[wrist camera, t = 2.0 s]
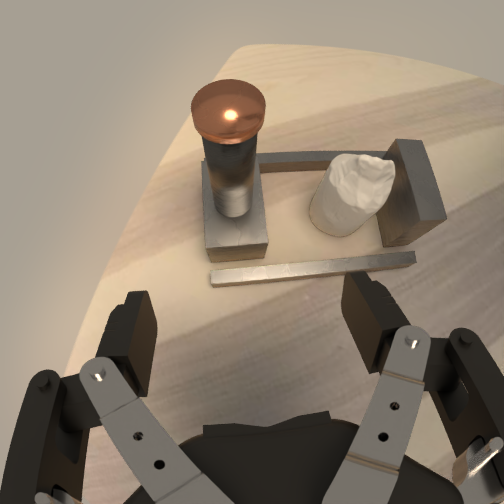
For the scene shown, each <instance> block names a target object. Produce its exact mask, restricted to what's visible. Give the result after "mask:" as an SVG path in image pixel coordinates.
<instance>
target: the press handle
mask: <svg viewBox="0 0 504 504" xmlns="http://www.w3.org/2000/svg"><path fill="white" fill-rule="evenodd" d="M265 106H266V104H265V99H264V96H263V95H262V93H261V92H260V91H259V90H258V89H257V88H256V87H255V86H253V85H251V84H249V83H247V82H244V81H241V80H234V79H226V80H219V81H215V82H212V83H210V84H208V85H206V86H204V87H203V88H202V89H200V90H199V91H198V92H197V93H196V95H195V96H194V98H193V100H192V104H191V112H192V117H193V122H194V126H195V128H196V130H197V131H198V133H199V134H200V135H201V136H202V140H203V146H204V152H205V157H206V161H201V163H202V189H203V211H204V229H205V246H206V250H207V253H208V256H209V258H210V261H211V263H212V262H224V261H235V260H246V259H258V258H264V257H265V253H266V249H267V246H268V235H267V227H266V218H265V210H264V202H263V194H262V186H261V178H260V170H259V162H258V157H256V145H257V133H258V131H259V130H260V129H261V127H262V125H263V122H264V116H265Z"/></svg>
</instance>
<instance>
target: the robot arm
mask: <svg viewBox="0 0 504 504" xmlns="http://www.w3.org/2000/svg"><path fill="white" fill-rule="evenodd" d="M341 309H342V314H343V317H344V319H345V321H346V323H347V326H348V328H349V330H350V332H351V334H352V336H353V339H354V341H355V343H356V345H357V348H358V350H359V352H360V354H361V356H362V359H363V361H364V363H365V366H366V368H367V370H368V372H369V374H371V373H375V372H379V374H380V379H379V382H378V384H377V387H376V389H375V392H374V394H373V397H372V399H371V402H370V404H369V407H368V409H367V411H366V414H365V416H364V418H363V420H362V423H361V425H360V426H358V425H356V424H354V423H351V422H348V421H344V420H338V419H331V417H330V414H329V411H325V412H319V413H313V414H307V415H301V416H297V417H294V418H292V419H289V420H287V421H284V422H281V423H278V424H276V425H273V426H270V427H260V426H251V425H243V424H235V423H232V424H218V425H203V434H200V435H197V436H195V437H192V438H190V439H188V440H186V441H184V442H183V443H181V444H180V445H177V444H176V443H175V442H174V441H173V439H172V438H171V437H170V436H169V435H168V433H167V432H166V431H165V430H164V428H163V427H162V426H161V425H160V423H159V422H158V421H157V420H156V418H155V417H154V416H153V415H152V413H151V412H150V411H149V409H148V408H147V407H146V405H145V404H144V403H143V401H142V400H141V399H140V398H139V397H147V394H148V387H149V380H150V374H151V368H152V361H153V355H154V350H155V344H156V338H157V321H156V317H155V314H154V310H153V307H152V304H151V300H150V297H149V294H148V292H147V291H132V292H128V294H127V297H126V300H125V303H124V304H121V305H117V306H116V308H115V309H114V310H113V311H112V312H111V313H110V316H109V319H108V321H107V324H106V327H105V332H104V333H103V335H102V338H101V341H100V344H99V347H98V350H97V353H96V356H95V358H93V359H91V360H89V361H87V362H86V363H85V364H84V365H83V366H82V368H81V370H80V373H79V374H75V375H71V376H67V377H63V378H60V377H59V375H58V374H57V373H56V372H55V371H53V370H43V371H40V372H38V373H37V374H36V375H35V376H34V377H33V378H32V379H31V381H30V383H29V386H28V388H27V391H26V394H25V397H24V400H23V403H22V406H21V410H20V413H19V416H18V419H17V423H16V427H15V430H14V433H13V437H12V441H11V444H10V448H9V452H8V457H7V461H6V465H5V470H4V474H3V479H2V485H1V490H0V504H83V503H81V501H82V489H83V479H84V469H85V461H86V453H87V446H88V439H89V432H90V428H93V427H97V426H101V425H103V426H104V428H105V430H106V431H107V433H108V435H109V436H110V438H111V440H112V441H113V443H114V445H115V446H116V448H117V449H118V451H119V452H120V454H121V456H122V457H123V459H124V460H125V462H126V463H127V465H128V466H129V468H130V469H131V470H132V472H133V473H134V475H135V476H136V478H137V479H138V480H139V482H140V483H141V486H140V487H139V488H138V489H137V490H136V491H135V492H134V493H133V494H132V495H131V496H130V497H129V498H128V499H127V500H126V501H125V502H124V503H123V504H500V503H501V502H503V501H504V376H503V374H502V373H501V371H500V369H499V368H498V366H497V364H496V363H495V361H494V360H493V358H492V356H491V355H490V353H489V352H488V350H487V349H486V347H485V346H484V344H483V343H482V341H481V340H480V338H479V337H478V335H477V334H476V333H474V332H473V331H471V330H469V329H466V328H457V329H454V330H453V331H452V332H451V334H450V336H449V338H430V336H429V335H428V333H427V332H426V331H425V330H423V329H422V328H420V327H417V326H412V325H411V324H410V323H409V321H408V320H407V318H406V316H405V315H404V313H403V312H402V310H401V309H400V307H399V306H398V304H397V303H396V301H395V300H394V298H393V297H391V294H390V293H389V291H388V290H387V288H386V287H385V286H384V285H382V284H381V283H379V282H378V281H371V279H370V278H369V276H368V275H367V273H366V272H365V271H364V270H360V271H352V272H346V274H345V278H344V285H343V293H342V300H341ZM462 382H463V383H462ZM463 384H464V385H463ZM464 386H465V387H464ZM465 388H466V389H465ZM466 390H467V391H466ZM423 391H429V393H430V395H431V397H432V400H433V402H434V404H435V406H436V409H437V411H438V413H439V416H440V418H441V420H442V423H443V425H444V428H445V430H446V432H447V435H448V437H449V440H450V442H451V445H452V448H453V450H454V453H455V455H456V458H457V459H456V460H455V462H454V464H453V468H452V473H453V477H452V481H453V483H452V482H450V481H449V480H447V479H446V478H444V477H442V476H440V475H439V474H437V473H435V472H433V471H432V470H430V469H428V468H427V467H425V466H423V465H421V464H420V463H418V462H416V461H415V460H413V459H411V458H410V457H408V456H406V455H405V451H406V448H407V445H408V442H409V439H410V436H411V433H412V429H413V426H414V423H415V419H416V416H417V412H418V409H419V405H420V401H421V398H422V394H423ZM467 392H468V393H467Z"/></svg>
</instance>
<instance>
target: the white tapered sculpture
mask: <svg viewBox="0 0 504 504" xmlns="http://www.w3.org/2000/svg"><path fill="white" fill-rule="evenodd" d="M394 178H395V165H394V162H393V161H392V160H382V159H380V158H378V157H372V156H369V155H365V154H363V155H356V154H341V155H338V156H336V157H335V158H334V159H333V160H332V161H331V163H330V165H329V167H328V169H327V171H326V173H325V175H324V177H323V179H322V181H321V183H320V185H319V187H318V189H317V191H316V193H315V195H314V197H313V199H312V201H311V204H310V209H309V213H310V218H311V220H312V222H313V224H314V225H315V226H316V227H317V228H318V229H320V230H321V231H323V232H325V233H327V234H329V235H333V236H338V237H344V236H348V235H350V234H351V233H353V232H354V231H356V230H357V229H358V228H359V227H360V226H361V225H363V224H364V223H365V222H366V221H367V220H368V219H369V218H370V217H372V216H373V215H374V214H375V213H376V212H377V211H378V210H379V209H380V208H381V207H382V206H383V205H384V203H385V202H386V200H387V198H388V196H389V194H390V192H391V188H392V185H393V181H394Z"/></svg>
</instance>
